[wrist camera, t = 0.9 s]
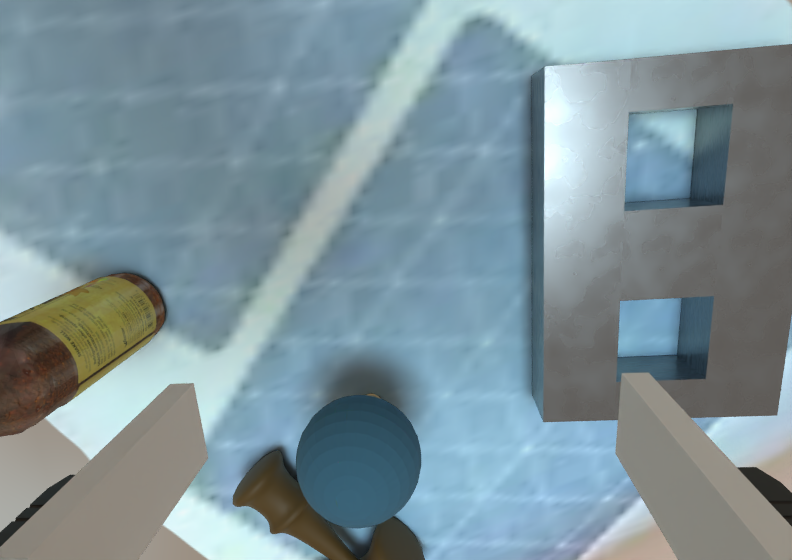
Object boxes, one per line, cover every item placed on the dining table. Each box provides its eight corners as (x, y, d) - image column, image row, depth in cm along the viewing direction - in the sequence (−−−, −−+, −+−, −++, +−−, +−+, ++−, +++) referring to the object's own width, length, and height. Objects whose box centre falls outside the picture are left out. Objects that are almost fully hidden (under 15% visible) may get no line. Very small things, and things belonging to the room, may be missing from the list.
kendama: (300, 418, 42) (456, 568, 44) (230, 479, 44) (381, 617, 47) (276, 461, 36) (457, 631, 38) (197, 528, 39) (372, 683, 41)
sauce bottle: (107, 256, 38) (-211, 365, 19) (180, 291, 39) (-62, 432, 20) (84, 325, 40) (-228, 487, 21) (154, 358, 41) (-92, 546, 21)
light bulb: (440, 381, 39) (445, 478, 28) (395, 459, 42) (382, 580, 30) (347, 336, 39) (313, 416, 27) (306, 418, 41) (258, 524, 30)
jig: (531, 75, 33) (544, 66, 29) (782, 53, 32) (831, 40, 28) (532, 394, 39) (543, 422, 35) (741, 387, 38) (777, 415, 34)
